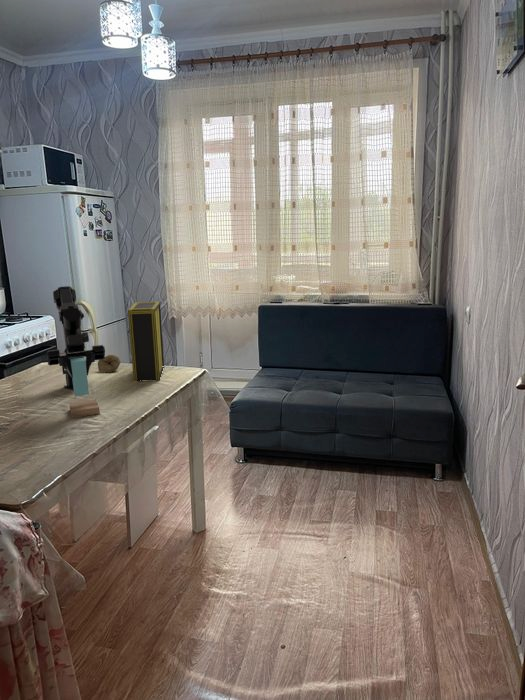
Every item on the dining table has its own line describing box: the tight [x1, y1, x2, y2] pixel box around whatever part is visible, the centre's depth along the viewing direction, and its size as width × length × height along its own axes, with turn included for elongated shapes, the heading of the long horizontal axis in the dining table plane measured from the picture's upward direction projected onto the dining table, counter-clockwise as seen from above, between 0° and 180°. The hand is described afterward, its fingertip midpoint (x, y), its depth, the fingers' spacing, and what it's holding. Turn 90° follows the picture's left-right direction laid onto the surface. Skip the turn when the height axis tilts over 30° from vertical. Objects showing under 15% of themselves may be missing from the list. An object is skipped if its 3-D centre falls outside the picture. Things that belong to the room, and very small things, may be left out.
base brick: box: [68, 399, 101, 419], centre depth 183 cm, size 9×9×2 cm
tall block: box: [70, 357, 90, 397], centre depth 180 cm, size 4×4×12 cm
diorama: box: [127, 301, 165, 382], centre depth 224 cm, size 21×11×30 cm, turn 5°
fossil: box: [97, 354, 121, 373], centre depth 235 cm, size 9×4×10 cm
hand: (79, 376), depth 179 cm, fingers closed on tall block, 4 cm apart
